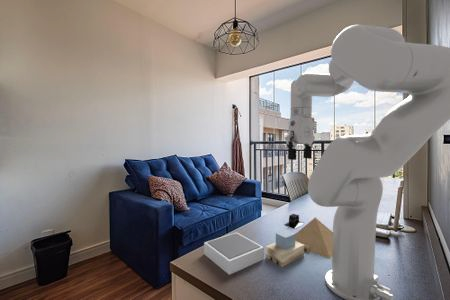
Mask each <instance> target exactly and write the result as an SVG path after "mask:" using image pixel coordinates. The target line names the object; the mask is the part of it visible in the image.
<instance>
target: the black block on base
mask: <svg viewBox="0 0 450 300" xmlns="http://www.w3.org/2000/svg"><path fill="white" fill-rule="evenodd" d="M288 216H289V217H288V222H287V223H284V224H283V226H285V227H289V228H291V229H297V228H298V227H300V226H302V225H304V224H305V222H303V221H300V215H299V214H296V213H292V214H290V215H288Z"/></svg>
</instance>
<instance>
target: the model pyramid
mask: <svg viewBox="0 0 450 300" xmlns="http://www.w3.org/2000/svg"><path fill="white" fill-rule="evenodd" d="M295 241H297V242H299V243H301V244H304V251H306V252H307V253H310V252H311V253H313V254H316V255H318V256H322V257H325V258H326V259H327V258H328V259H332V250H333V230H331V229H330V228H328V226H326V225H325V224H324V223H322V222H321V221H320V220H319V219H318V218H317V217H314V218H313V219H312V220H310V221H309V222H308V223H307V224H305V225H304V226H303V227H302V228H301V229H299V230H298V231H297V232H296V233H295Z"/></svg>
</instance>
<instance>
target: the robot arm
mask: <svg viewBox="0 0 450 300" xmlns="http://www.w3.org/2000/svg"><path fill="white" fill-rule="evenodd" d="M330 57H331V60H330V62H329V65H328V72H329V73H319V72H318V73H317V72H315V73H313V72H305V73H302V74H300V75H299V76H298V78H297V79H295V80H293V81H292V82H291V85H290V114H289V115H290V116H289V117H290V118H289V122H288V133H287V134H286V135H285V136H284V141H285V145H286V148H287V149H288V150H287V160H290V161H295V160H297V148H296V147H297V146H298V144H303V146H304V148H303V159H312V154H313V152H312V151H313V147H314V146H313V145H314V141H315V136H314V122H313V117H312V105H313V97H324V98H328V97H330V98H331V97H335V96H338V95H339V94H344V93H345V92H347V91H348V90H349V89H350V88H351V87H352V85H353V84H354V82H356V83H357V84H358V85H360V86H362V87H363V88H365V89H368V90H369V91H374V92H378V93H379V92H380V93H381V92H382V93H400V94H401V93H402V94H408V95H409V96H407V98H405V99H404V100H403V101H401V102H399V103H398V104H396V105H395V106H394V107H392V108H391V109H390V110H388V111H387V112H386V113H385V114H384V116H383V117H382V119H381V120H380V121H379V123H378V124H377V125H376V126H375V128H373V130H372V131H371V132H369V133H367V134H349V135H348V134H346V135H341V136H339V137H337V138H335V139H333V140H332V141H331V142H330V143H329V144H328V146H327V147H326V149H324V151H323V153H322V155H321V157H320V158H319V160H318V161H317V163H316V165H315V167H314V169H313V170H312V172H311V174H310V176H309V179H308V183H307V191H308V196H309V198H310V199H311V201H312V202H313V203H315V204H316V205H317V206H320V207H326V208H335V207H337V208H336V210H335V213H334V217H333V225H332V226H333V227H332V232H333V250H332V257H331V260H332V261H331V270H328V271H327V272H326V273H325V284H326V285H327V287H328V289H330V290H331V291H332V292H333V293H334V294H335V295H336V296H339V297H340V298H342V299H344V300H395V295H394V294H393V293H392V288H390V287H387V286H386V285H385V286H384V285H382V284H381V282H379V276H378V275H377V274H375V256H376V255H375V254H376V234H377V219H378V212H379V208H380V205H381V201H382V198H383V197H382V196H383V189H384V187H383V185H384V184H383V183H382V180H381V178H387V177H391V176H393V175H394V174H397V173H398V171H399V170H401V169H402V168H403V167H404V165H406V164H407V163H408V162H409V160H411V158H412V157H413V156H415V154H416V153H417V152H418V151H419V150H421V149H422V147H423V146H424V145H425V144H426V143H427V142H428V140H429V139H431V137H432V136H434V134H435V133H436V132H438V131H439V129H441V128H442V127H443V126H444V125H445V124H446V123H447V122H449V121H450V47H447V46H443V45H436V44H426V43H418V42H417V43H416V42H415V43H414V42H406V41H405V37H404V36H403V35H402V33H400V32H399V31H398V30H396V29H394V28H392V27H384V26H376V25H365V24H353V25H350V26H348V27H345V28H344V29H343V30H342V31H341V32H340V33H338V35H336V37H335V39H334V40H333V43H332V44H331V49H330Z"/></svg>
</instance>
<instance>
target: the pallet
mask: <svg viewBox="0 0 450 300" xmlns="http://www.w3.org/2000/svg"><path fill="white" fill-rule="evenodd" d="M304 256H305V250H304V244H301V243H299V242H297V241H295V246H293V247H291V248H289V249H287V250H284V249H282V248H280V247H278V246H276V241H275V242H273V243H270V244H268V245H266V246H265V259H267V260H271V262H272V263H274V264H277V263H278V266H279V267H281V268H284V267H285V266H287V265H290V264H291V263H293V262H295V261H297V260H300V259H301V258H303V257H304Z"/></svg>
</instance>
